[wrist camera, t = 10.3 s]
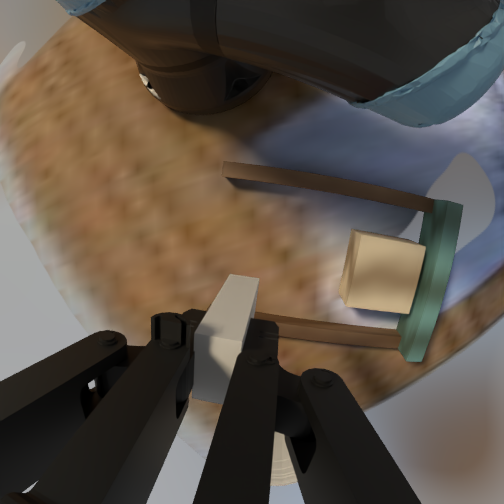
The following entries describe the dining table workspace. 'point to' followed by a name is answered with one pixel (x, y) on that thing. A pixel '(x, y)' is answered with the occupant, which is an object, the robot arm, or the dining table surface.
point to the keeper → (381, 272)
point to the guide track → (431, 275)
